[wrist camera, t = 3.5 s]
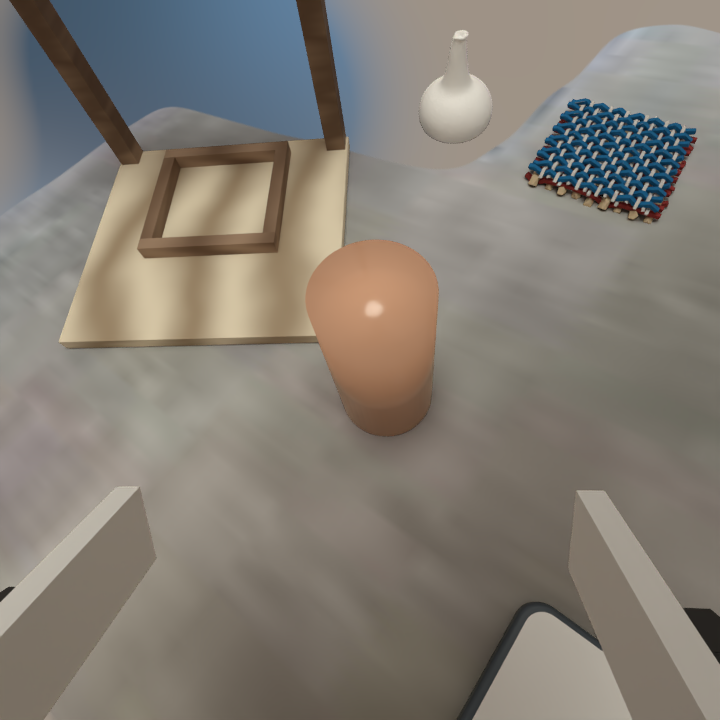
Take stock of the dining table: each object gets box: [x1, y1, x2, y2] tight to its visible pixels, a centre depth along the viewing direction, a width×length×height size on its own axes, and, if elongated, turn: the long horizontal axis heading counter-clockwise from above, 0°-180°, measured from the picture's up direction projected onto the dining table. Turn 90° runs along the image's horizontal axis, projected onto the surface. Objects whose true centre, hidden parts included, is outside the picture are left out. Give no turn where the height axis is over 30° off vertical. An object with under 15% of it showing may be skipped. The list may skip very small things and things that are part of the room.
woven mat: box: [525, 98, 697, 224], centre depth 39 cm, size 10×11×2 cm
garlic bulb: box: [419, 30, 492, 143], centre depth 40 cm, size 6×6×8 cm
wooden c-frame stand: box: [10, 0, 350, 348], centre depth 30 cm, size 21×20×22 cm
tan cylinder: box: [305, 240, 439, 436], centre depth 27 cm, size 6×6×12 cm
